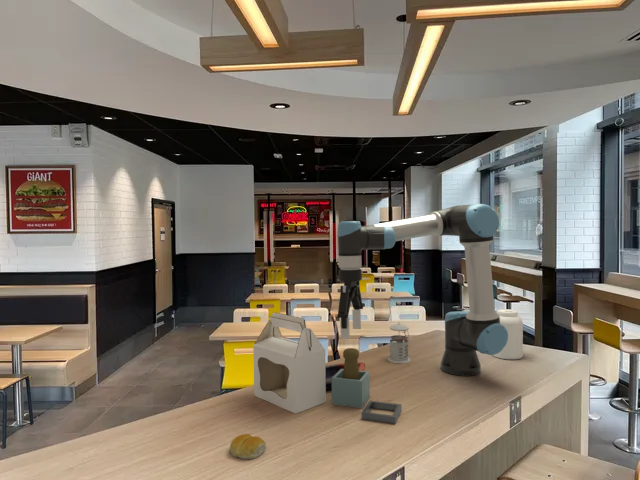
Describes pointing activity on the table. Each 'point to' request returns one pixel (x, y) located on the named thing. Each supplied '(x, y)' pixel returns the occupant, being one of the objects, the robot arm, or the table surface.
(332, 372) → the dish
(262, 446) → the bread roll
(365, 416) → the socket collar
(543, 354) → the table surface
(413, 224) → the robot arm
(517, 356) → the white jar
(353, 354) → the olive brown hourglass shape
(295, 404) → the gable box
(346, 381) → the open box
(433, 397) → the table surface
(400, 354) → the french press
